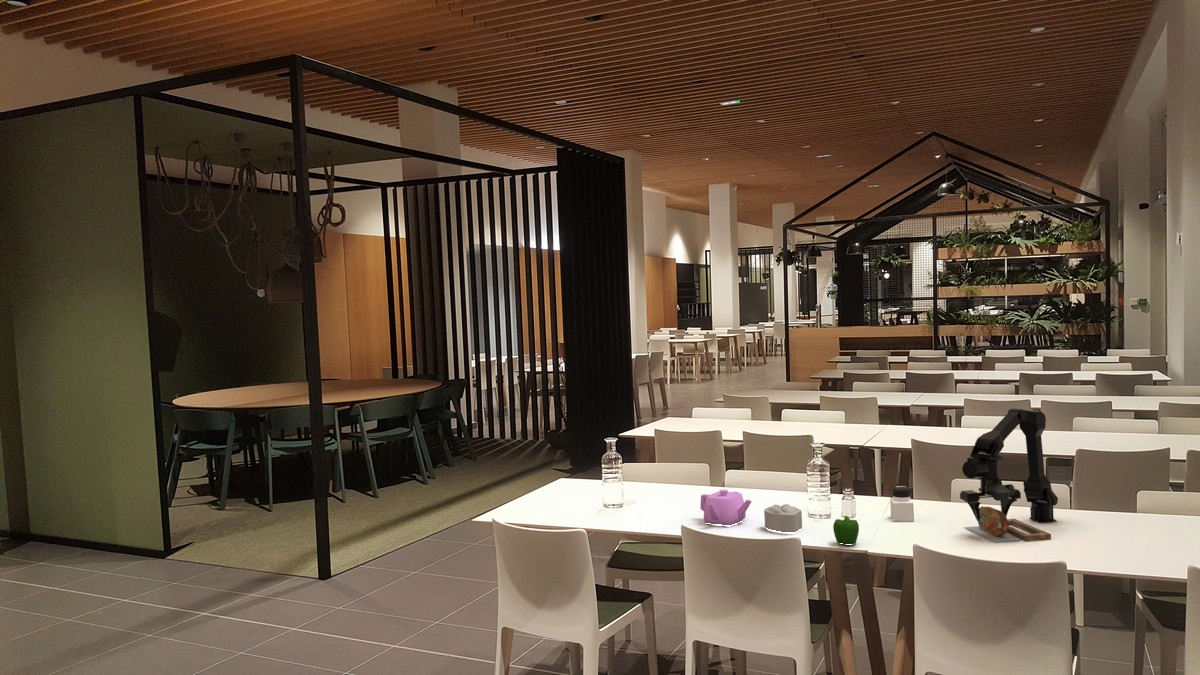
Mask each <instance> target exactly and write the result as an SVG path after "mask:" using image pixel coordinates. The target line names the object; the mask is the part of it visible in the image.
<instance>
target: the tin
mask: <svg viewBox="0 0 1200 675" xmlns="http://www.w3.org/2000/svg"><path fill="white" fill-rule="evenodd" d="M979 513H980V521H977V524H978V526H980V528H981V529H982V530H983V531H985V532H987V533H990V534H992V535H994V536H1003V535H1005V534H1006V532H1007V526H1008V524H1007V519H1008V518H1007V516H1006V515H1005V514H1004V513H1003V512H1002V511H1001V510H999V509H996V508H994V507H991V506H983V505H982V506H979Z"/></svg>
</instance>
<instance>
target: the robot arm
mask: <svg viewBox="0 0 1200 675" xmlns="http://www.w3.org/2000/svg"><path fill="white" fill-rule="evenodd" d="M1046 422H1047V418H1046V415H1045V413H1044V412H1042V411H1040V410H1028V409H1022V408H1013V407H1011V408H1009V410H1008V411H1007V414H1006V415H1005V416H1004V417H1003V418H1002V419H1001V420H1000V421H999V422H998V423H997V424H996V425H995V426H994V427H993V429H992V430H990V431H988V432H985V433H983V434H982V435H980V436H979V437H977V439H976V440H975V443H974V445H973V448H972V451H971V453H970V456H968V457H967V460H966V461H965V462H964V463H963V464H962V467H961V468H962V469H961V470H962V473H963V474H964V476H965V477H966V478H968V479H975V478H978V480H979V481H980V487H978V491H979V492H977V491H974V490H972V489H971V490H970V489H967V490H962V491H960V493H959V499H960V500H963V502H966V503H967V504H968V506H969V508H970V509H971V511H972V513H973V515H974V517H975V519H976V521H977V522H978V521H980V513H979V508H980V505H981V502H980V499H986V498H993V500H995V501H996V502H997V501H998V502H999V501H1000V502H999V503H1000V511H1002V512H1003V513H1004V514H1005V515H1006V517H1007V516H1008V512H1009V510H1010V508H1011V505H1012V504H1014V503H1015V502H1017V501H1018V499H1022V496H1021V495H1022V493H1021V491H1020V490H1019V489H1017V488H1015V486H1014V485H1013V484H1003V482H1002V481H1003V480H1002V478H1001V477H1000V474H999V472H1000V471H999V470H1000V469H999V468H1000V467H999V461H1001V460H1003V458H1002V456H1000V453H1001V451H1002V450H1003V449H1004V447H1005V440H1006V439H1007V438H1008V437H1009V436H1010V435H1011V433H1012V432H1013V431H1014V430H1015V429H1016V428H1017V427H1019V429H1020V430H1021V432H1022V433H1023V435H1024V437H1025V445H1026V455H1027V457H1026V458H1027V466H1028V467H1027V469H1028V476H1027V478H1026V479H1025V480H1024V481H1023V483H1022V484H1023V492H1024V494H1025V498H1026V502H1027V503H1031V506H1030V509H1029V510H1030V511H1029V512H1030V516H1029V518H1028V519H1029V520H1032V521H1035V522H1037V523H1041V524H1042V523H1053V522H1057V519H1055V518H1054V506H1057V505H1058V502H1059V498H1058V496H1057V495H1056V494H1055V492H1054V491H1053V490H1052V484H1051V481H1050V480H1049V478H1047V476H1046V474H1045V462H1044V452H1043V440H1042V434H1043V433H1044V431H1045V430H1046V425H1047V423H1046Z"/></svg>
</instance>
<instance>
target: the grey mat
mask: <svg viewBox="0 0 1200 675" xmlns="http://www.w3.org/2000/svg"><path fill="white" fill-rule="evenodd" d="M965 528H966V529H965ZM963 529H965V530H967V531H969V532H971V533H973V534H975V535H977V536H980V537H982V538H983V537H984V538H983V539H986V540H987V539H988V541H989V540H990V541H989V542H991V541H992V542H991V543H993V542H994V543H993V544H997V543H998V544H999V543H1010V542H1011V543H1012V542H1021V541H1022V540H1021V539H1019V538H1016V537H1014V536H1012V535H1010V534H1008V533H1006V534H1005V535H1003V536H994V535H992V534H990V533H987V532H985V531H983V530H982V529H981V528H980V526H979V525H978V526H977V525H975V526H965V527H964V528H963Z"/></svg>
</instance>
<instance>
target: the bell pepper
mask: <svg viewBox="0 0 1200 675" xmlns="http://www.w3.org/2000/svg"><path fill="white" fill-rule="evenodd" d="M832 528H833V535H834V538H835V540H836V542H837V543H843V544H854V543H855V544H856V543H857V540H858V536H859V530H860V524H859V523H858V521H857V519H850V517H849V515H844V518H843V519H840V518H837V519H835V520H834V523H833V525H832ZM843 544H842V545H843ZM855 544H854V545H855Z"/></svg>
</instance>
